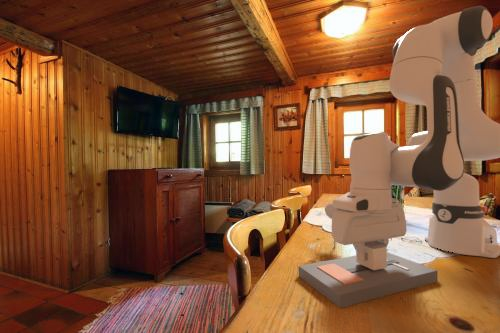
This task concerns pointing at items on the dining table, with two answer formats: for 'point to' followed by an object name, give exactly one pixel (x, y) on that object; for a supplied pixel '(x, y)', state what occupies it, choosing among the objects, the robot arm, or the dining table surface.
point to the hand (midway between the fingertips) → (371, 258)
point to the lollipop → (330, 211)
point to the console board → (364, 278)
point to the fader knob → (374, 255)
